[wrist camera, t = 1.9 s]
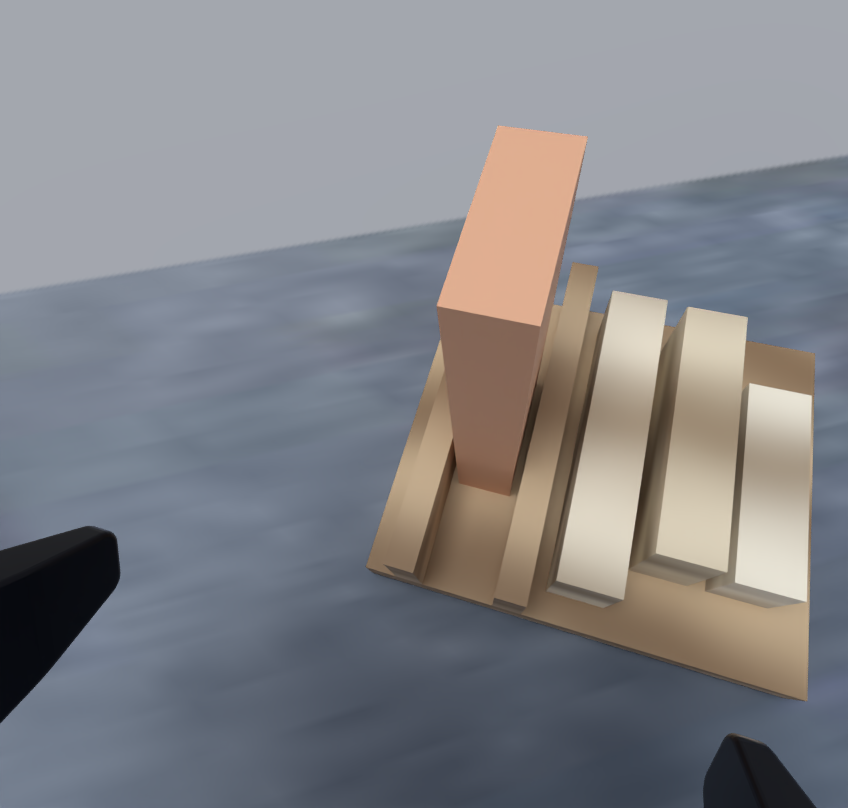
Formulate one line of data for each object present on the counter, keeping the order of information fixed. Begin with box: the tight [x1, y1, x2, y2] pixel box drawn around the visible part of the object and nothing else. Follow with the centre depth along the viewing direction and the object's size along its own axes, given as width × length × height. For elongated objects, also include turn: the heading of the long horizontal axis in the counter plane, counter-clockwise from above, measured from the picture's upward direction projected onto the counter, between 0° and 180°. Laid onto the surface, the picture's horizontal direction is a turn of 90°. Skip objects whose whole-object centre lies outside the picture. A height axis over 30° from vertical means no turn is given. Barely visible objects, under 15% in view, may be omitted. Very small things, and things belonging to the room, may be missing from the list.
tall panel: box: [437, 126, 588, 496], centre depth 17 cm, size 5×2×12 cm, turn 164°
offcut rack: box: [366, 262, 815, 701], centre depth 20 cm, size 13×15×5 cm
